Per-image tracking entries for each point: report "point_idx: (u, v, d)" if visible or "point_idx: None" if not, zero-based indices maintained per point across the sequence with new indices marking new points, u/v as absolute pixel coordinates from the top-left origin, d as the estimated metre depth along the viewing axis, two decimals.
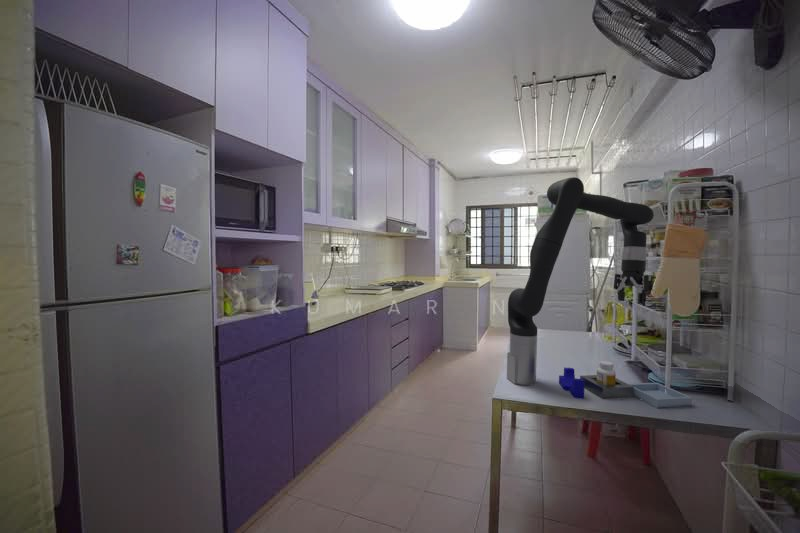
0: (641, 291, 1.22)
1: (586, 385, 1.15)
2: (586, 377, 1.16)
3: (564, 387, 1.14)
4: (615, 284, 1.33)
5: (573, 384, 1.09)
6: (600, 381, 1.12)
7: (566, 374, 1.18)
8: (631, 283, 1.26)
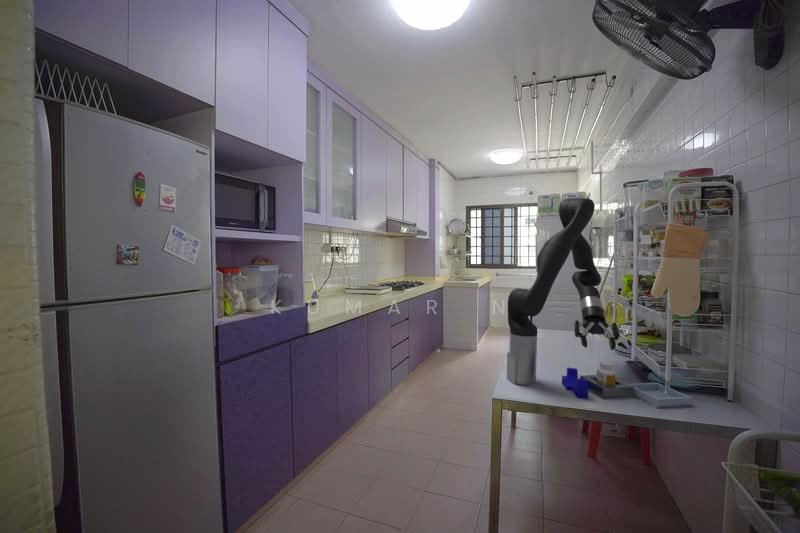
0: (613, 336, 1.21)
1: None
2: (586, 377, 1.16)
3: (567, 387, 1.14)
4: (578, 329, 1.26)
5: (577, 384, 1.09)
6: (600, 381, 1.12)
7: (569, 374, 1.18)
8: (598, 329, 1.24)
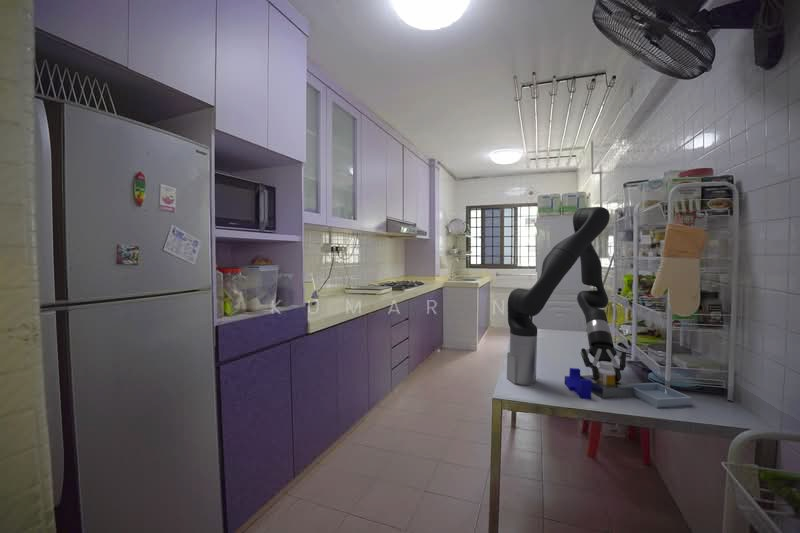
0: (618, 366, 1.12)
1: None
2: (586, 377, 1.16)
3: (570, 388, 1.14)
4: (587, 358, 1.16)
5: (580, 385, 1.08)
6: (600, 381, 1.12)
7: (572, 374, 1.17)
8: (604, 356, 1.16)
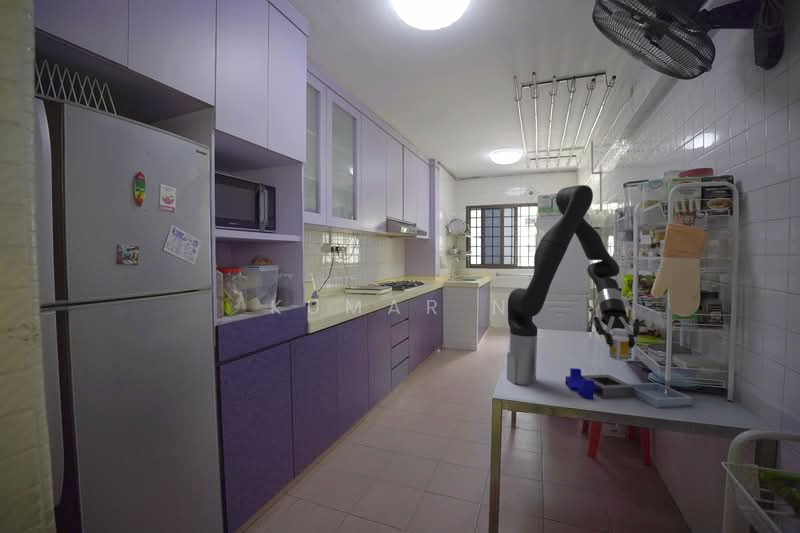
0: (632, 333, 1.11)
1: None
2: (586, 377, 1.16)
3: (572, 388, 1.14)
4: (600, 326, 1.15)
5: (582, 385, 1.08)
6: (614, 348, 1.11)
7: (573, 375, 1.17)
8: (617, 323, 1.14)
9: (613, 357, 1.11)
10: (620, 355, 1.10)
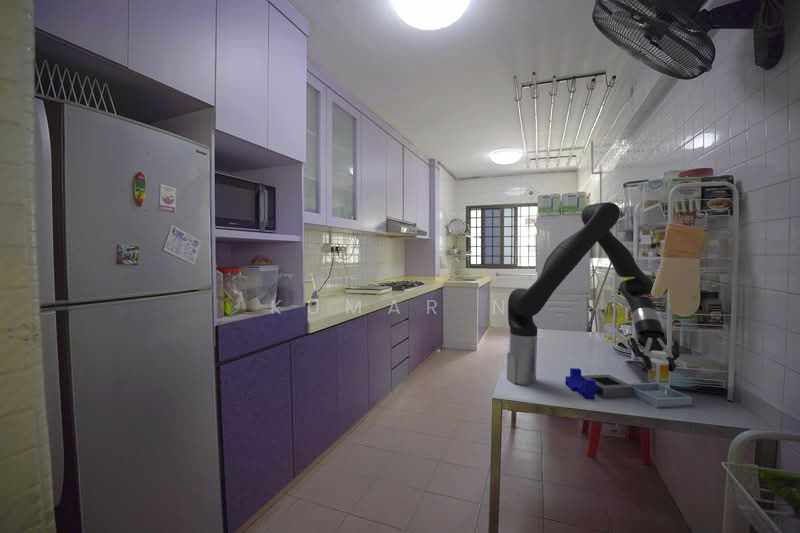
0: (672, 356, 1.07)
1: None
2: (586, 377, 1.16)
3: (573, 388, 1.13)
4: (637, 348, 1.11)
5: (584, 385, 1.08)
6: (653, 371, 1.07)
7: (573, 375, 1.17)
8: (655, 345, 1.10)
9: (652, 381, 1.07)
10: (660, 379, 1.06)
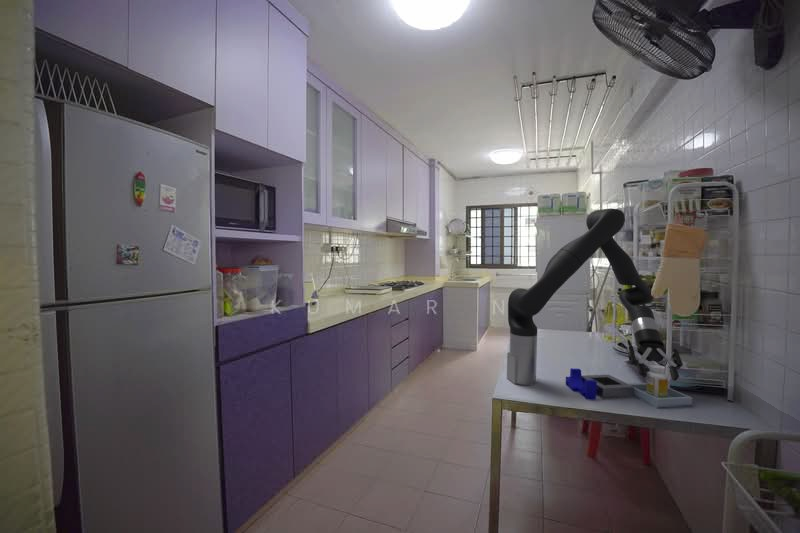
0: (675, 365, 1.07)
1: None
2: (586, 377, 1.16)
3: (573, 388, 1.13)
4: (633, 356, 1.12)
5: (585, 385, 1.08)
6: (651, 385, 1.07)
7: (573, 375, 1.17)
8: (657, 356, 1.10)
9: None
10: (659, 393, 1.06)
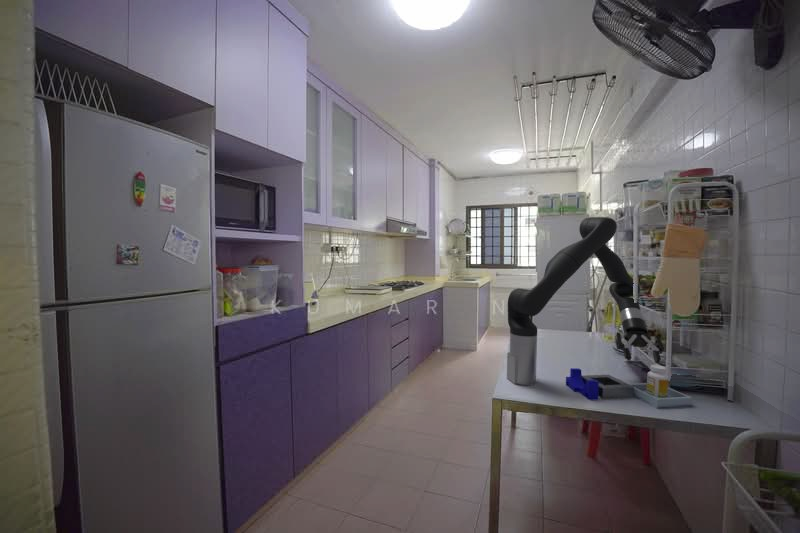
0: (657, 349, 1.20)
1: None
2: (586, 377, 1.16)
3: (575, 389, 1.13)
4: (620, 342, 1.24)
5: (587, 385, 1.08)
6: (651, 385, 1.07)
7: (574, 375, 1.17)
8: (641, 342, 1.23)
9: None
10: (659, 393, 1.06)
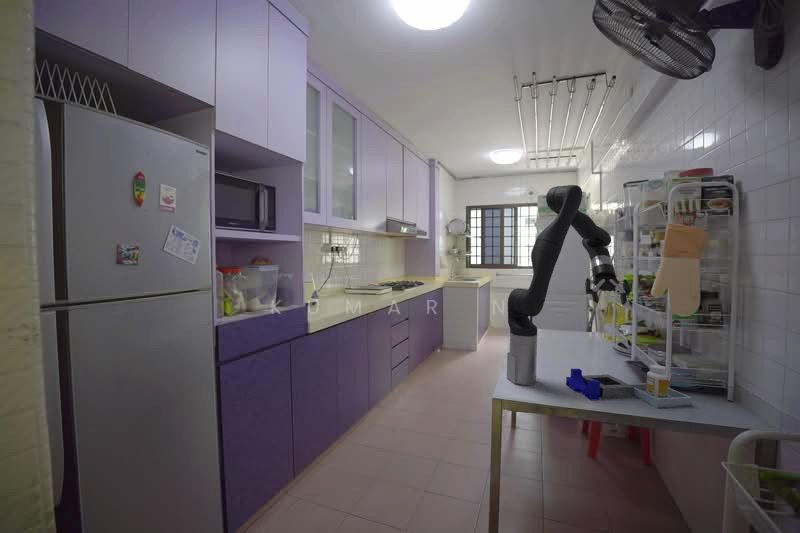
0: (624, 291, 1.23)
1: (586, 385, 1.15)
2: (586, 377, 1.16)
3: (576, 389, 1.13)
4: (589, 286, 1.27)
5: (589, 386, 1.07)
6: (651, 385, 1.07)
7: (574, 375, 1.17)
8: (609, 285, 1.26)
9: None
10: (658, 393, 1.06)
